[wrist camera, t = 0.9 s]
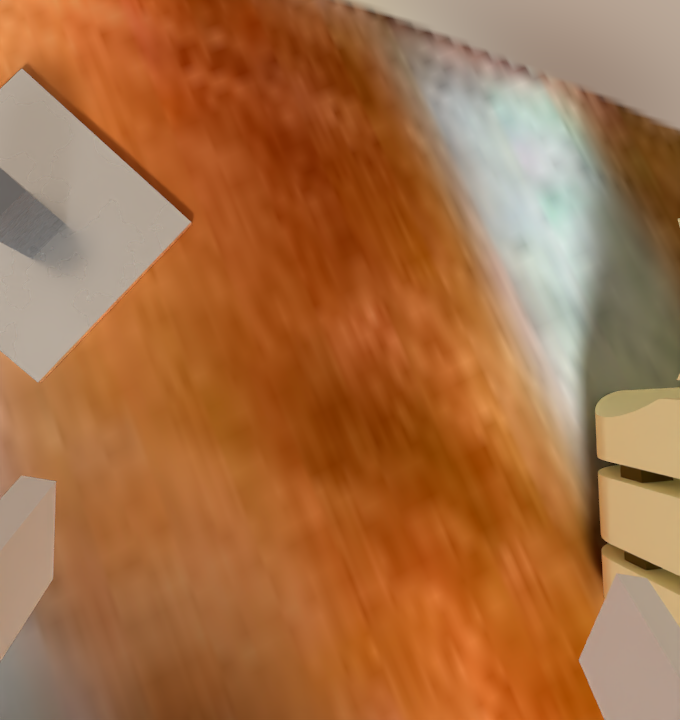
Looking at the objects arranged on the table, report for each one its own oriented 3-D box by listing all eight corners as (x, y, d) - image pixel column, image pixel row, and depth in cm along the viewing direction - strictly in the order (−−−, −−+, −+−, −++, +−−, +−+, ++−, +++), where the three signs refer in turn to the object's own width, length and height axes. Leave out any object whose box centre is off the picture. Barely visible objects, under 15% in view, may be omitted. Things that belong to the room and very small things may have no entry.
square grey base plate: (41, 382, 34) (-10, 385, 27) (-139, 230, 33) (-240, 192, 26) (192, 224, 35) (180, 188, 28) (25, 73, 34) (-29, -3, 27)
